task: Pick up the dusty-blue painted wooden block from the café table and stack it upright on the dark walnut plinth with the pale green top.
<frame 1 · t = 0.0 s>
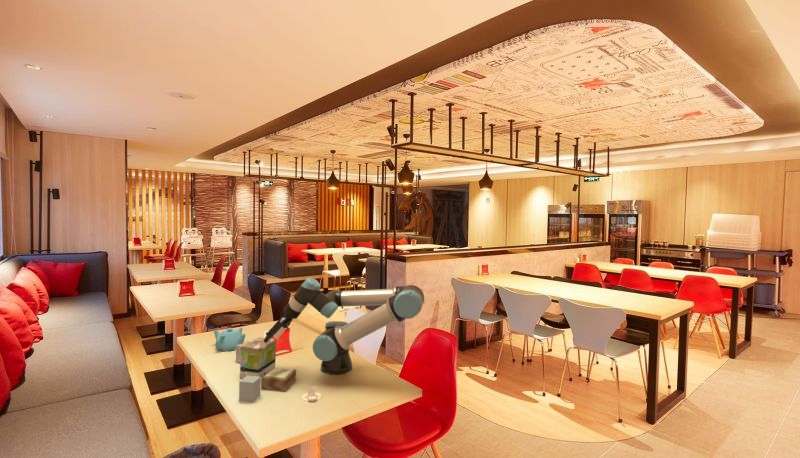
hand: (268, 342, 187), 15 cm above the table, tool tilted 35°, fingers open, 13 cm apart
block: (249, 398, 164), on the table
plinth: (279, 385, 177), on the table
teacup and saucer: (305, 400, 164), on the table
tea box: (258, 373, 189), on the table
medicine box: (245, 361, 204), on the table
teapot: (229, 347, 222), on the table
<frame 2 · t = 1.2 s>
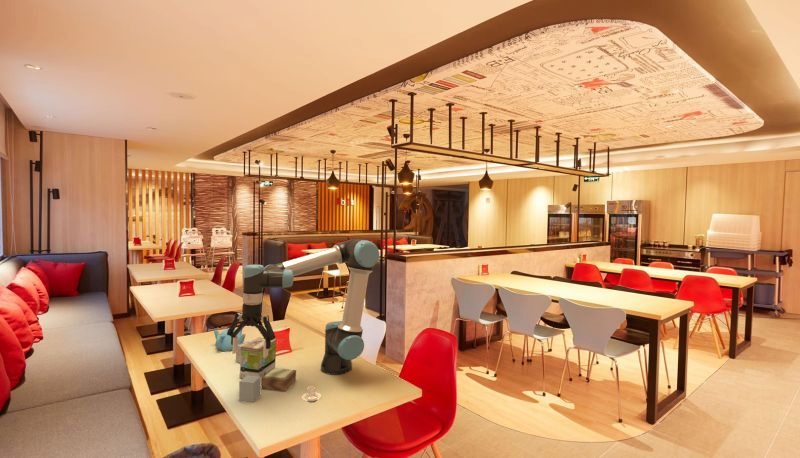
hand: (250, 354, 164), 18 cm above the table, tool pointing down, fingers open, 13 cm apart
nothing on the table moved.
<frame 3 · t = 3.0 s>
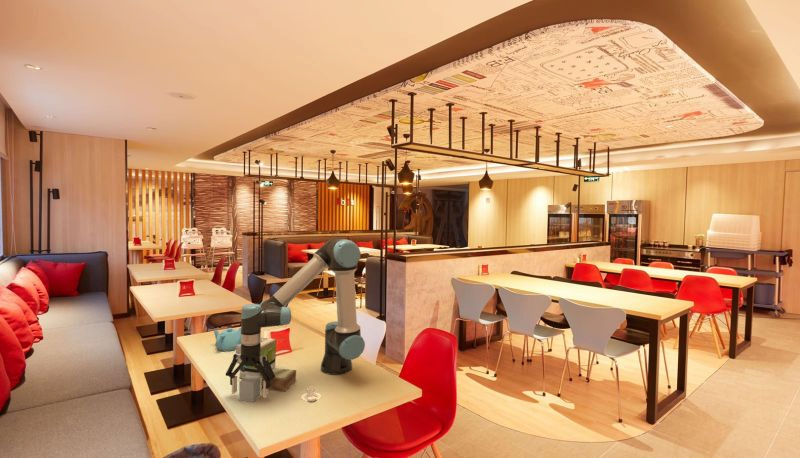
hand: (249, 394, 164), 2 cm above the table, tool pointing down, fingers open, 13 cm apart
nothing on the table moved.
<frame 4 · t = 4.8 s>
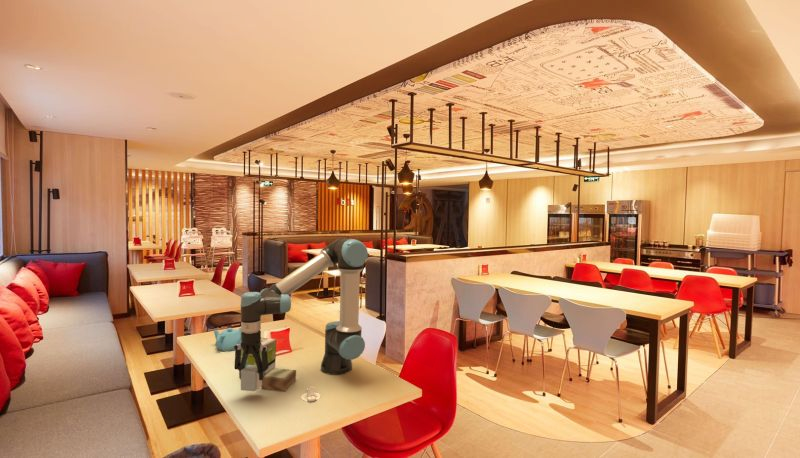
hand: (251, 386, 164), 5 cm above the table, tool pointing down, fingers closed on block, 6 cm apart
block: (251, 387, 164), point 4 cm above the table, touching gripper
everything else where it was.
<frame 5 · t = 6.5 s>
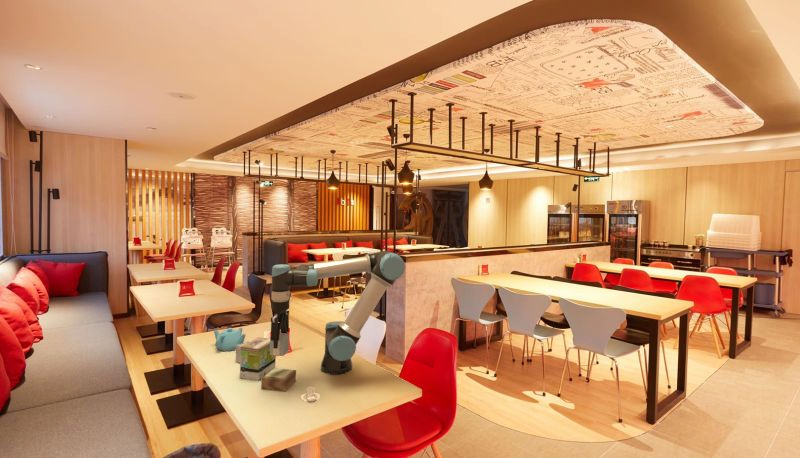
hand: (279, 352, 176), 15 cm above the table, tool pointing down, fingers closed on block, 6 cm apart
block: (279, 353, 176), point 14 cm above the table, touching gripper
everything else where it was.
when the fingers open (6 cm above the table, at t = 8.7 s): block stays where it is, resting on plinth.
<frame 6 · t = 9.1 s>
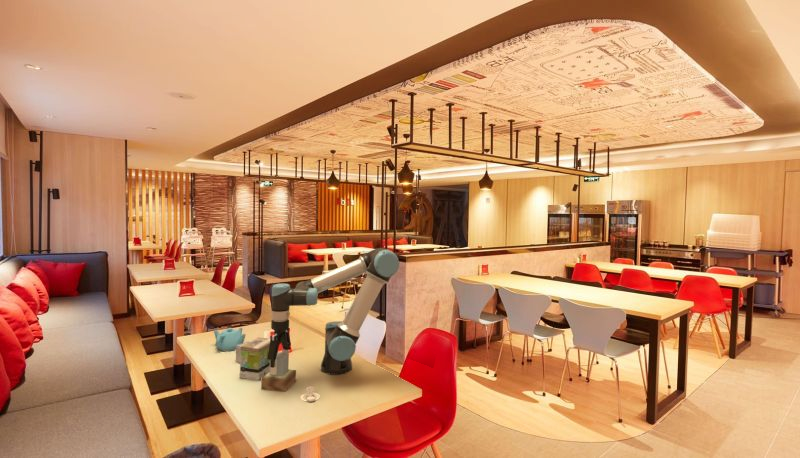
hand: (279, 368, 176), 7 cm above the table, tool pointing down, fingers open, 11 cm apart
block: (279, 372, 176), point 5 cm above the table, touching plinth
everything else where it was.
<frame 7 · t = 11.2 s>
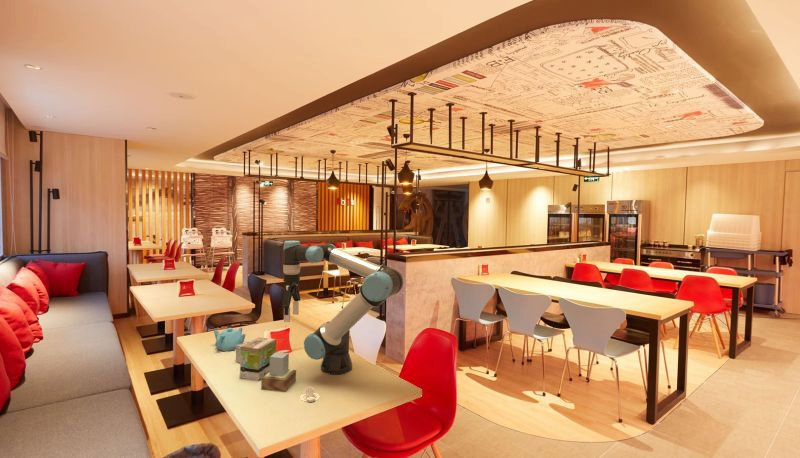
hand: (291, 318, 190), 26 cm above the table, tool pointing down, fingers open, 13 cm apart
nothing on the table moved.
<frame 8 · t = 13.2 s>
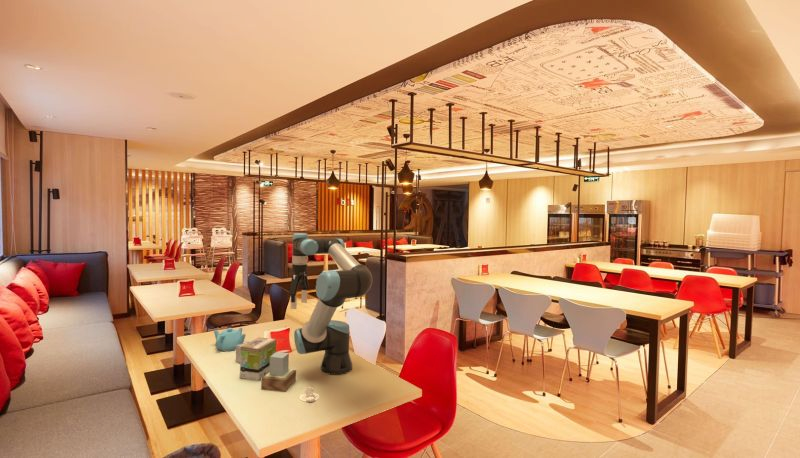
hand: (298, 305, 204), 29 cm above the table, tool pointing down, fingers open, 13 cm apart
nothing on the table moved.
at the end: block inside the target area on the plinth (0.1 cm from its centre), point 5.4 cm above the plinth's base; block tilted 0°; the gripper is holding nothing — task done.
